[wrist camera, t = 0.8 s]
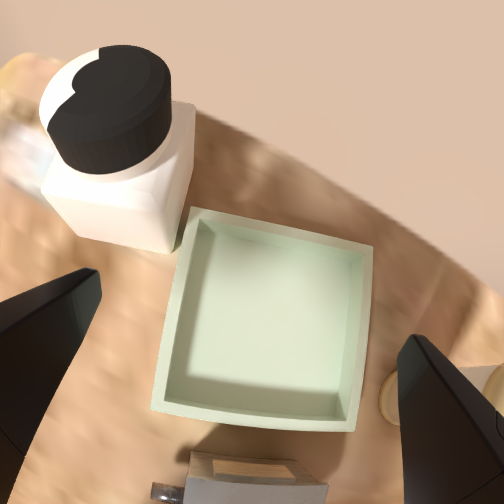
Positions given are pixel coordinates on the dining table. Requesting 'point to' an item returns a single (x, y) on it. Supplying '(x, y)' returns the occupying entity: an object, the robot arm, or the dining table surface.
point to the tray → (265, 326)
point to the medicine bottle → (118, 148)
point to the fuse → (483, 377)
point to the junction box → (242, 482)
